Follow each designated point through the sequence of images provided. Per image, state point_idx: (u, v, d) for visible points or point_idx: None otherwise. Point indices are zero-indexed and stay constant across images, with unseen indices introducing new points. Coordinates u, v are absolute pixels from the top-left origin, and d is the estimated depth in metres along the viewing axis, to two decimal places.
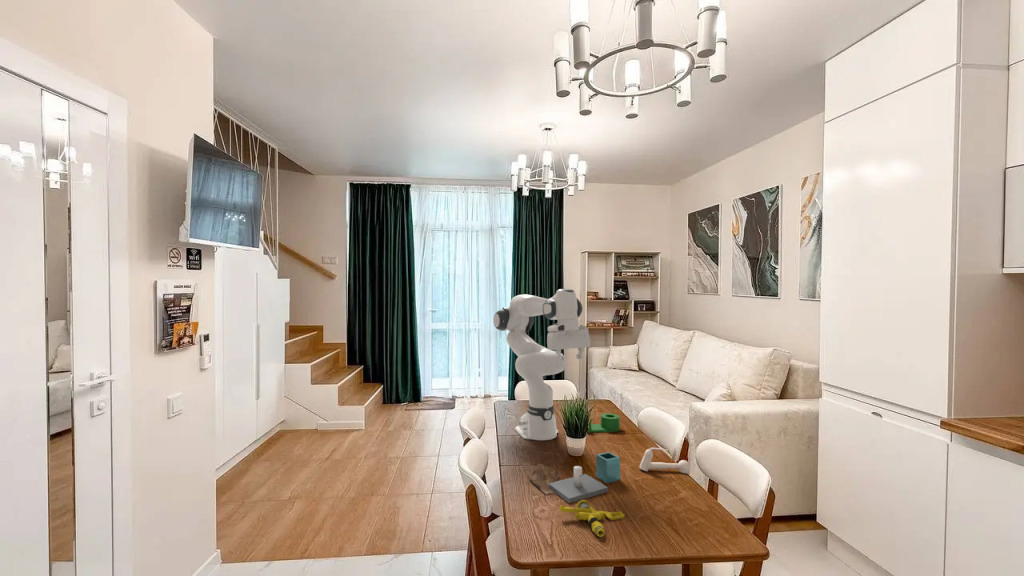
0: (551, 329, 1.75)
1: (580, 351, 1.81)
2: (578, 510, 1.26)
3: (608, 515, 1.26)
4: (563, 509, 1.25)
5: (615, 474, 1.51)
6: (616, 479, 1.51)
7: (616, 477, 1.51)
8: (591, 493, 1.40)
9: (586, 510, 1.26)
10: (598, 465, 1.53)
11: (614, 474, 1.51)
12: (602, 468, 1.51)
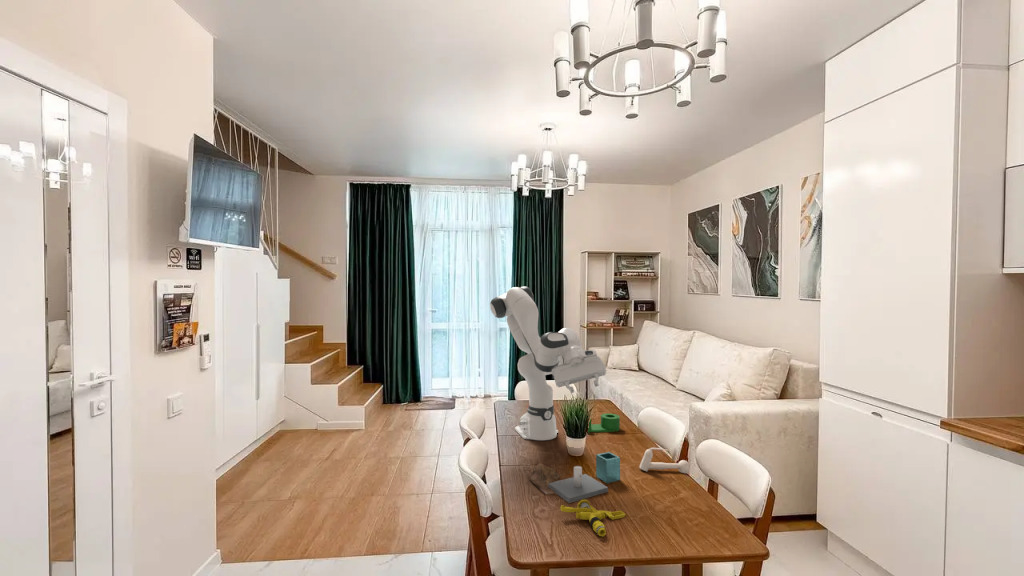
0: None
1: None
2: (579, 510, 1.26)
3: (609, 514, 1.26)
4: (564, 509, 1.25)
5: (615, 474, 1.51)
6: (616, 479, 1.51)
7: (616, 477, 1.51)
8: (591, 493, 1.40)
9: (587, 510, 1.26)
10: (598, 465, 1.53)
11: (614, 474, 1.51)
12: (602, 468, 1.51)
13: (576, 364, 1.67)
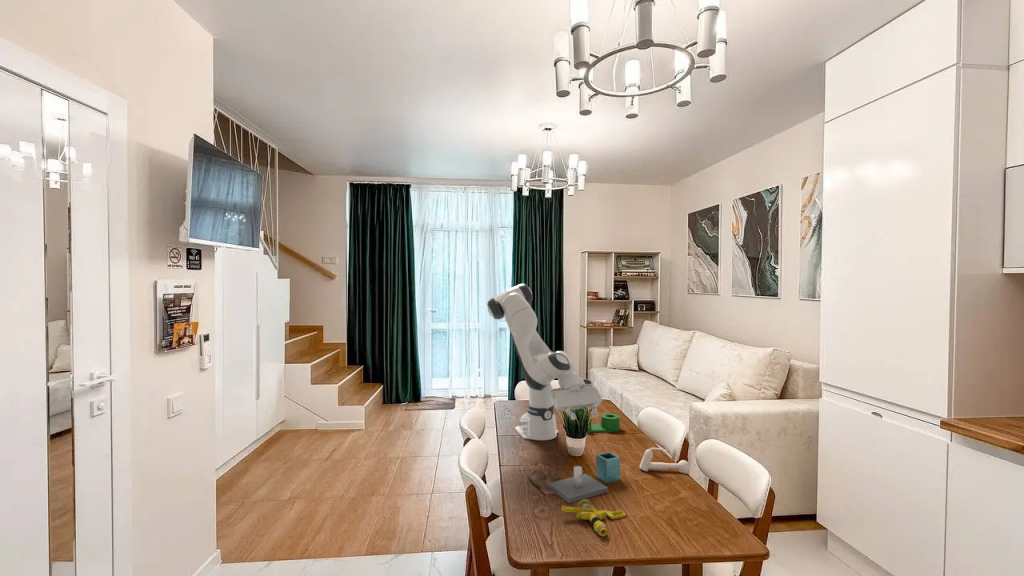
0: None
1: None
2: (580, 510, 1.26)
3: (609, 514, 1.26)
4: (565, 509, 1.26)
5: (615, 474, 1.51)
6: (616, 479, 1.51)
7: (616, 477, 1.51)
8: (591, 493, 1.40)
9: (588, 510, 1.26)
10: (598, 465, 1.53)
11: (614, 474, 1.51)
12: (602, 468, 1.51)
13: (576, 391, 1.69)
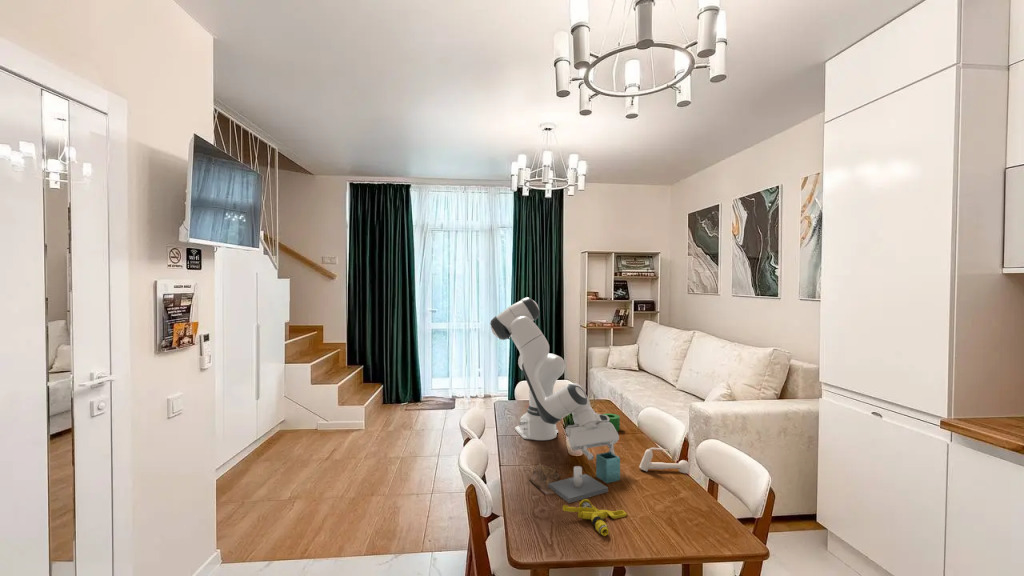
0: None
1: None
2: (581, 509, 1.26)
3: (610, 514, 1.27)
4: (566, 509, 1.26)
5: (615, 474, 1.51)
6: (616, 479, 1.51)
7: (616, 477, 1.51)
8: (591, 493, 1.40)
9: (589, 509, 1.26)
10: (598, 465, 1.53)
11: (614, 474, 1.51)
12: (602, 468, 1.51)
13: (592, 428, 1.60)
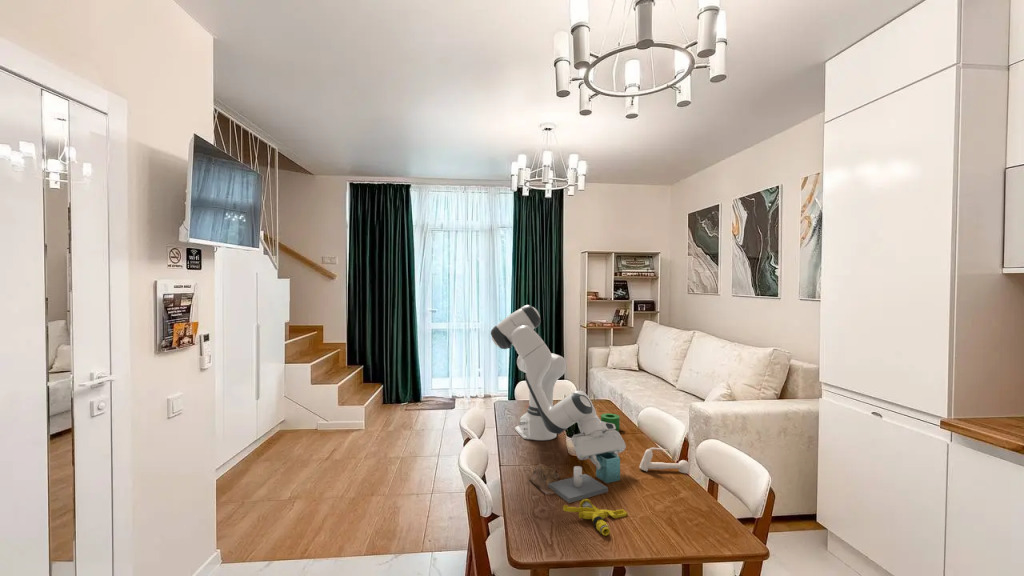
0: None
1: None
2: (581, 509, 1.26)
3: (611, 513, 1.27)
4: (567, 509, 1.26)
5: (615, 474, 1.51)
6: (616, 479, 1.51)
7: (616, 477, 1.51)
8: (591, 493, 1.40)
9: (589, 509, 1.26)
10: None
11: (614, 474, 1.51)
12: (602, 468, 1.51)
13: (598, 437, 1.58)
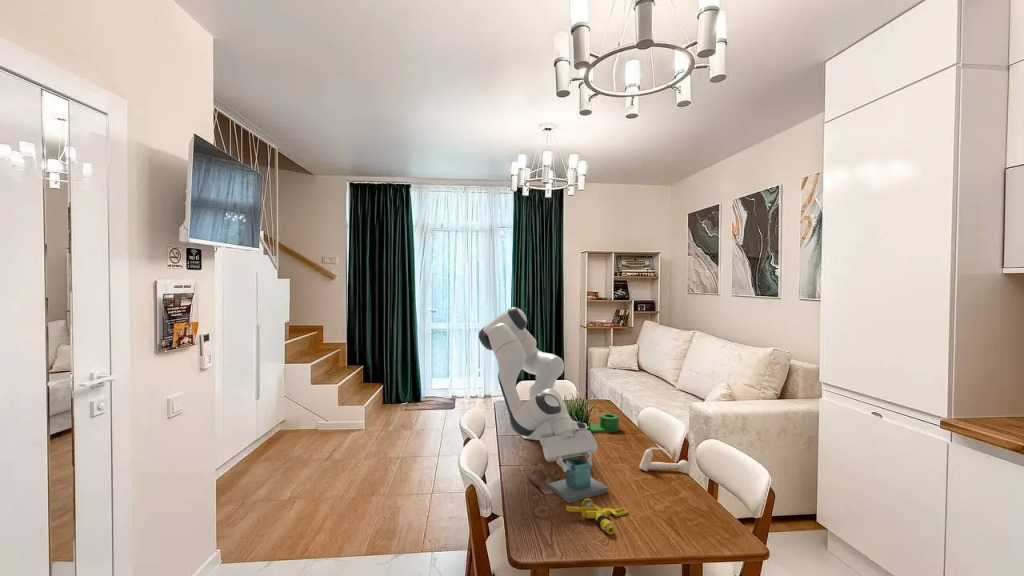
0: None
1: None
2: (584, 509, 1.26)
3: (613, 512, 1.28)
4: (570, 509, 1.26)
5: (585, 481, 1.42)
6: (586, 486, 1.42)
7: (586, 484, 1.42)
8: (591, 493, 1.40)
9: (592, 508, 1.27)
10: None
11: (584, 481, 1.42)
12: (571, 475, 1.42)
13: (568, 437, 1.49)
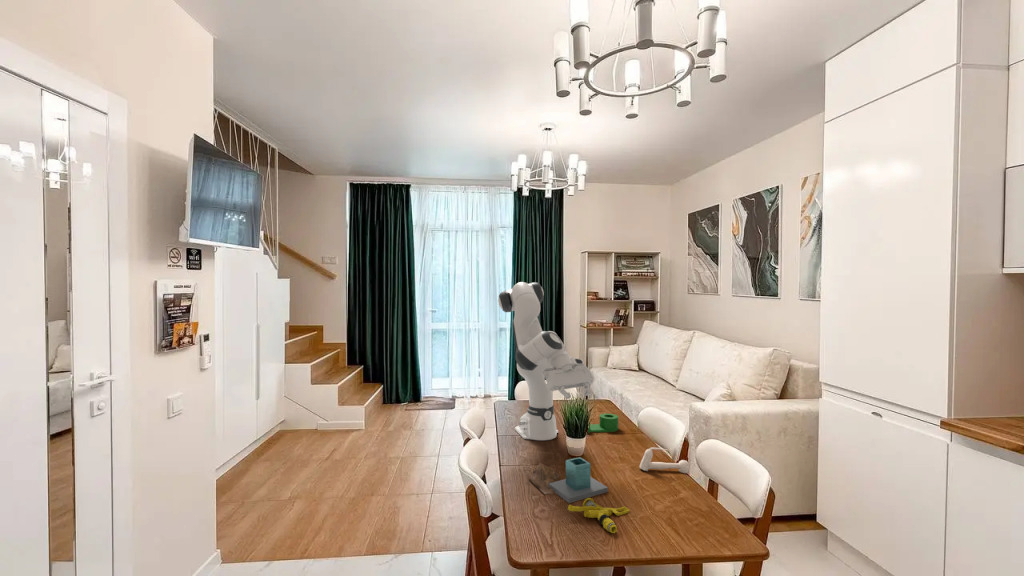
0: None
1: None
2: (586, 508, 1.27)
3: (614, 511, 1.28)
4: (572, 508, 1.26)
5: (585, 481, 1.42)
6: (586, 486, 1.42)
7: (586, 484, 1.42)
8: (591, 493, 1.40)
9: (594, 508, 1.27)
10: (567, 471, 1.45)
11: (584, 481, 1.42)
12: (571, 475, 1.42)
13: (568, 370, 1.67)
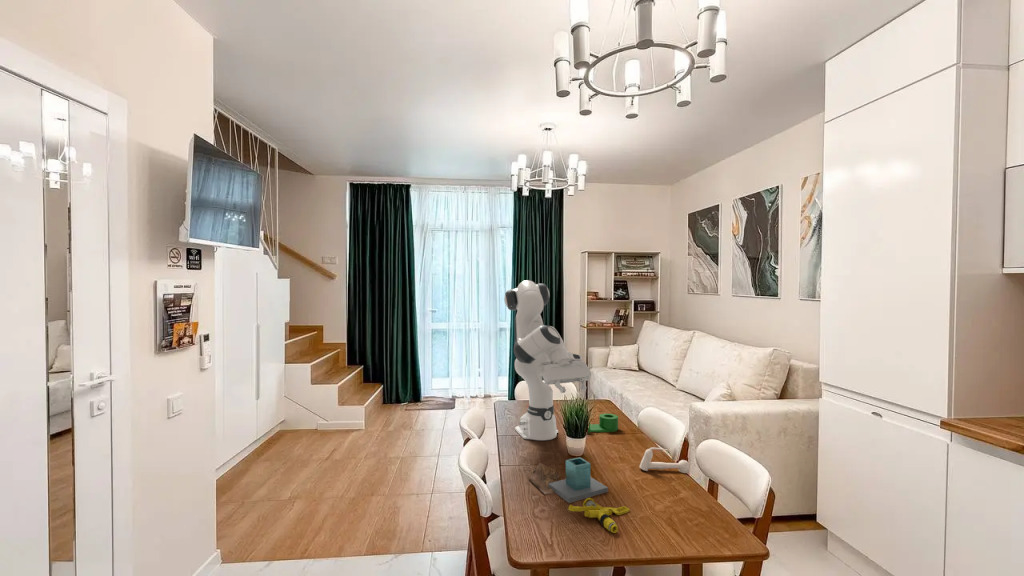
0: None
1: None
2: (587, 508, 1.27)
3: (615, 511, 1.28)
4: (572, 509, 1.26)
5: (585, 481, 1.42)
6: (586, 486, 1.42)
7: (586, 484, 1.42)
8: (591, 493, 1.40)
9: (594, 508, 1.27)
10: (567, 471, 1.45)
11: (584, 481, 1.42)
12: (571, 475, 1.42)
13: (565, 365, 1.68)
